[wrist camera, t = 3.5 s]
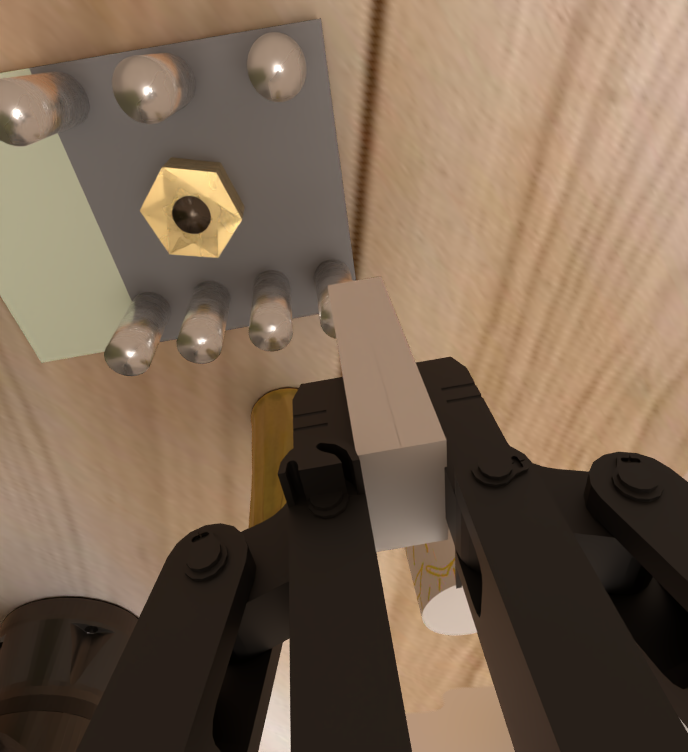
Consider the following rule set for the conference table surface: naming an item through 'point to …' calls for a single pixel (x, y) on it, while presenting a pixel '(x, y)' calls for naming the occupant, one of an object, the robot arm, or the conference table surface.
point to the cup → (439, 588)
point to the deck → (135, 179)
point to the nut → (193, 207)
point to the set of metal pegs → (150, 106)
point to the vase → (270, 452)
